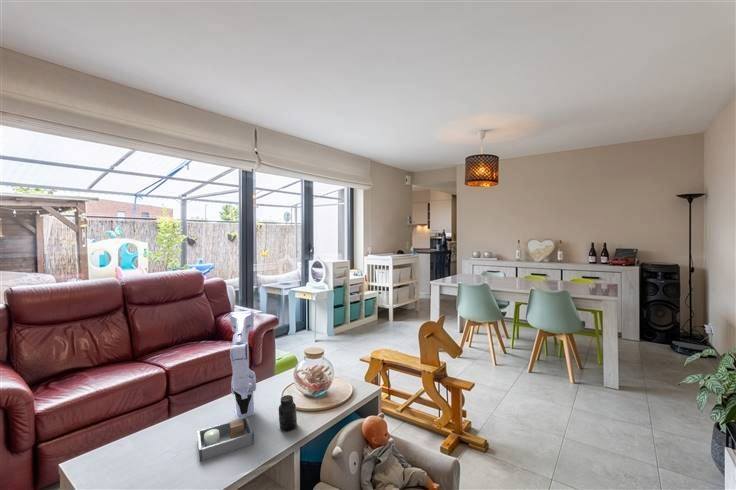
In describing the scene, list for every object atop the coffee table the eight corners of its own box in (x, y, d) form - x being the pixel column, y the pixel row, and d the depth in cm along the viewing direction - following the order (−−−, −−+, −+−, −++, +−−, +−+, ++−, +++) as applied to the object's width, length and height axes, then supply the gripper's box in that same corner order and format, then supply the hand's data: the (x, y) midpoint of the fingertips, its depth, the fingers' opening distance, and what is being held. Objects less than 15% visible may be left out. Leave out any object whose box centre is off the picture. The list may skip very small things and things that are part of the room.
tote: (197, 442, 128) (197, 430, 128) (247, 427, 137) (247, 416, 137) (199, 463, 117) (199, 450, 116) (254, 445, 125) (253, 433, 125)
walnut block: (230, 437, 130) (229, 421, 129) (242, 433, 132) (241, 418, 131) (231, 443, 126) (230, 427, 125) (244, 439, 128) (243, 424, 128)
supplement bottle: (291, 420, 141) (289, 391, 140) (300, 426, 136) (299, 397, 135) (276, 427, 136) (274, 398, 136) (285, 434, 131) (283, 404, 131)
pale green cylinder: (204, 444, 125) (203, 431, 125) (219, 440, 128) (218, 427, 128) (205, 452, 121) (204, 439, 121) (220, 447, 124) (219, 434, 123)
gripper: (255, 379, 128) (256, 414, 129) (248, 366, 141) (249, 398, 141) (235, 384, 124) (237, 420, 125) (229, 370, 137) (231, 402, 138)
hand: (242, 408), depth 133 cm, fingers open, 7 cm apart
